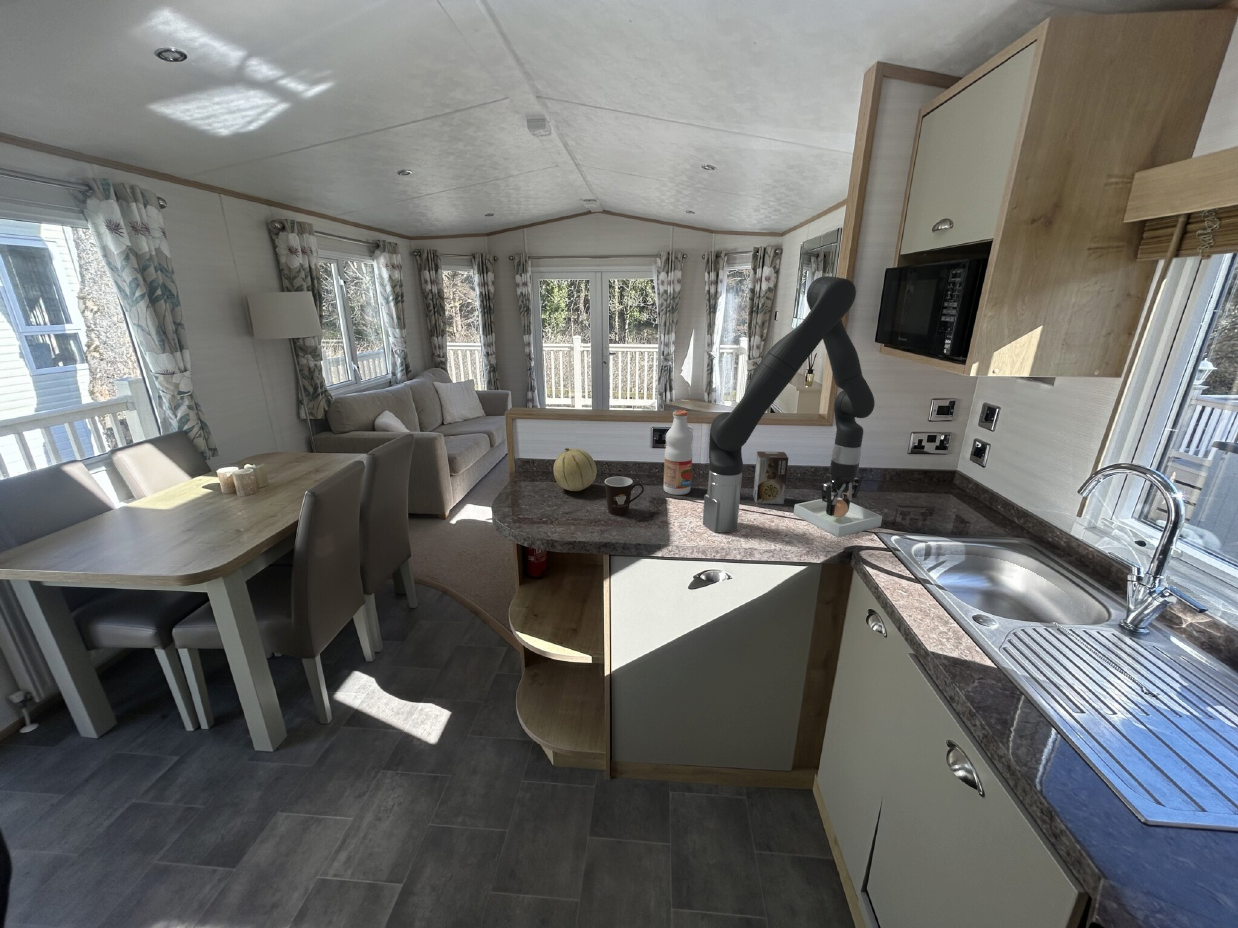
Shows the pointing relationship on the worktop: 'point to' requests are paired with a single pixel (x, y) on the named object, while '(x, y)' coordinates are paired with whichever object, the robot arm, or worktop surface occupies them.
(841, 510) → the terracotta ball
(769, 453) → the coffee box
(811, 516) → the tray
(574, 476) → the cantaloupe
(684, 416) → the fruit juice
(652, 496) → the worktop surface
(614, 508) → the coffee mug
